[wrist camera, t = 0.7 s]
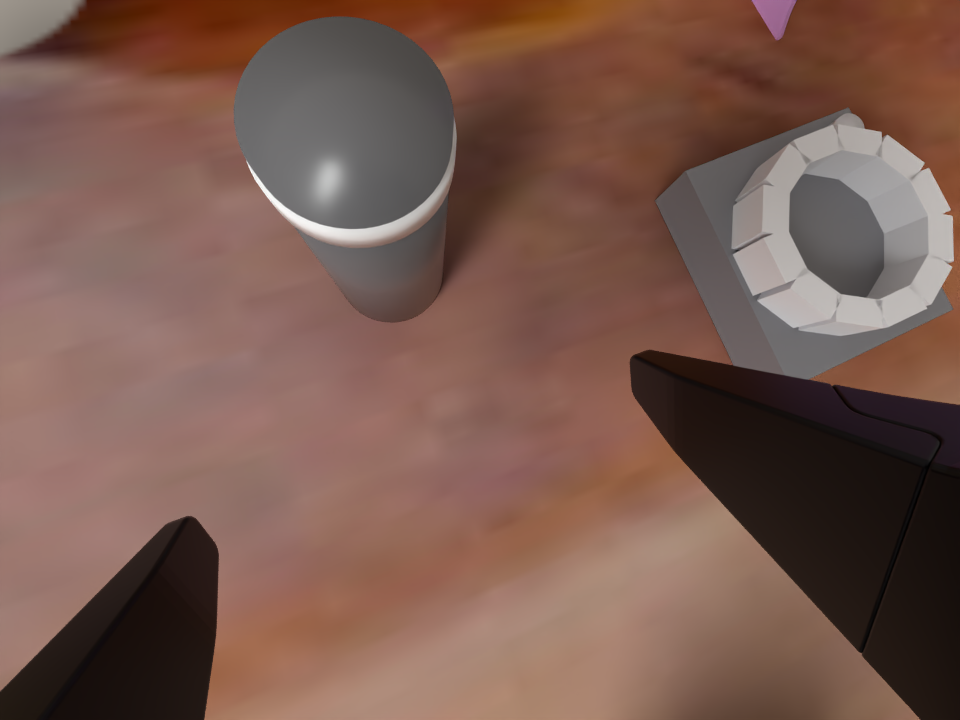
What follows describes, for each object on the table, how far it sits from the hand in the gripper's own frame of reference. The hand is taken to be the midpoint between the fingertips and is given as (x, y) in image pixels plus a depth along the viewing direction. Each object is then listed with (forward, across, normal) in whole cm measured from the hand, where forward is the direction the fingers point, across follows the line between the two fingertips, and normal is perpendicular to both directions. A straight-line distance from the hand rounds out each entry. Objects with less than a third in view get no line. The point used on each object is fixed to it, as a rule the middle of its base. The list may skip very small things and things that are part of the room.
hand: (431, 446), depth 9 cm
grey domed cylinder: (+15, -1, +1) cm, 15 cm away
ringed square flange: (+12, -20, +6) cm, 24 cm away
